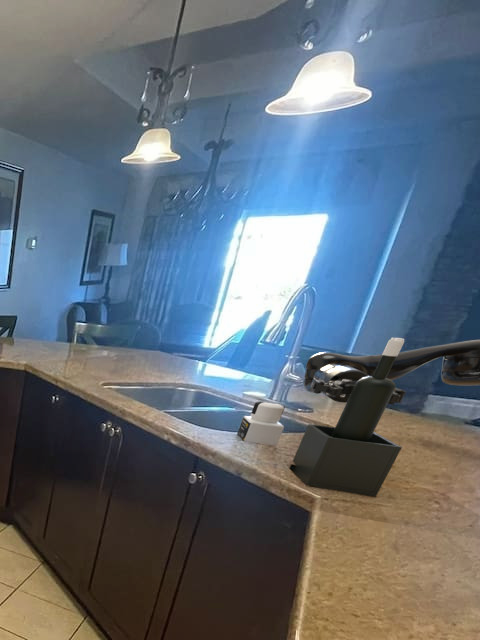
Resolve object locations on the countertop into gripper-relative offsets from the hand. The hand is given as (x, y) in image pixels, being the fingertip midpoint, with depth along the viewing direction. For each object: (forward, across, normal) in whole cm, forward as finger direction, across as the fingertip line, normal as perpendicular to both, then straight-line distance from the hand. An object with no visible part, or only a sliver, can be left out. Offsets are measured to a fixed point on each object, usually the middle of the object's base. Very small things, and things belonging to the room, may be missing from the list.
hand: (366, 396), depth 102 cm
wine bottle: (+2, 0, +18) cm, 18 cm away
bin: (+2, 0, +19) cm, 19 cm away
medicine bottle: (-19, -11, +19) cm, 29 cm away
